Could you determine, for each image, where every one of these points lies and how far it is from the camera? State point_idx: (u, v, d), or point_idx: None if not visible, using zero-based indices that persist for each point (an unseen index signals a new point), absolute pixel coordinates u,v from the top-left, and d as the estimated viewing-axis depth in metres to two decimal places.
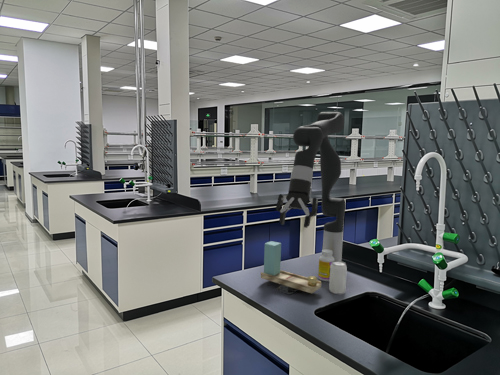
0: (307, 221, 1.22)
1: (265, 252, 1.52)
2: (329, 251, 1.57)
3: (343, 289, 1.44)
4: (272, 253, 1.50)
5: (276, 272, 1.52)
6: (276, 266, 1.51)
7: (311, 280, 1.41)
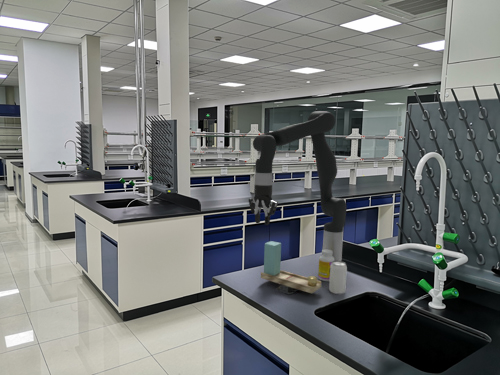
0: (267, 220, 1.50)
1: (265, 252, 1.52)
2: (329, 251, 1.57)
3: (343, 289, 1.44)
4: (272, 253, 1.50)
5: (276, 272, 1.52)
6: (276, 266, 1.51)
7: (311, 280, 1.41)
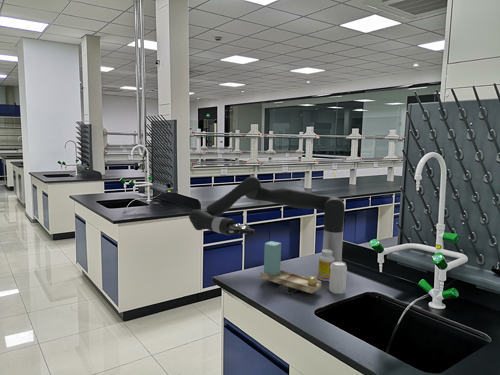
0: (249, 233, 1.58)
1: (265, 252, 1.52)
2: (329, 251, 1.57)
3: (343, 289, 1.44)
4: (272, 253, 1.50)
5: (276, 272, 1.52)
6: (276, 266, 1.51)
7: (311, 280, 1.41)
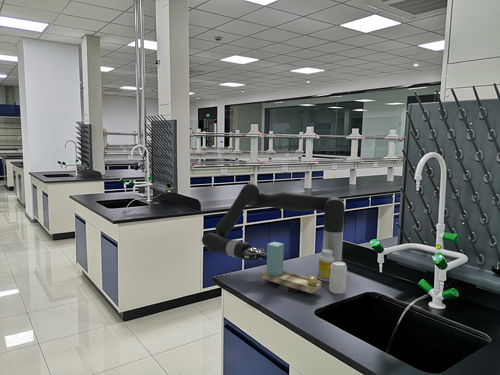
0: (265, 258, 1.54)
1: (268, 253, 1.51)
2: (329, 251, 1.57)
3: (343, 289, 1.44)
4: (275, 253, 1.49)
5: (279, 273, 1.51)
6: (279, 267, 1.51)
7: (311, 280, 1.41)
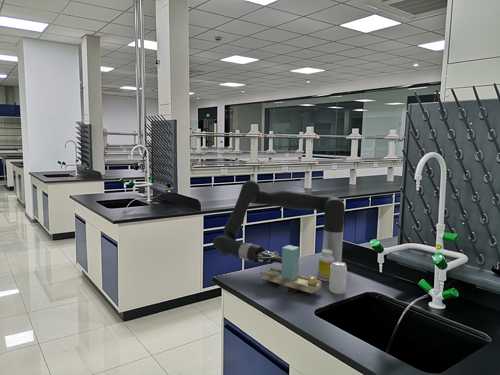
0: (279, 262, 1.50)
1: (283, 256, 1.47)
2: (329, 251, 1.57)
3: (343, 289, 1.44)
4: (290, 257, 1.45)
5: (294, 277, 1.47)
6: (294, 271, 1.46)
7: (311, 280, 1.41)
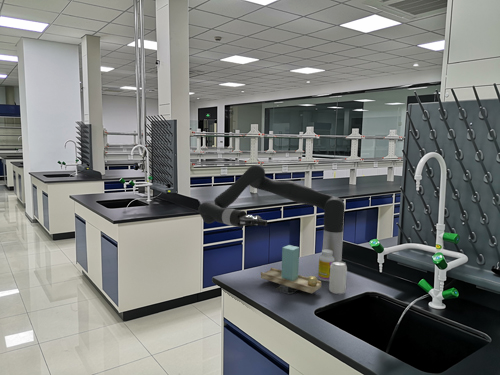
0: (260, 224, 1.54)
1: (283, 256, 1.47)
2: (329, 251, 1.57)
3: (343, 289, 1.44)
4: (290, 257, 1.44)
5: (294, 277, 1.47)
6: (294, 271, 1.46)
7: (311, 280, 1.41)
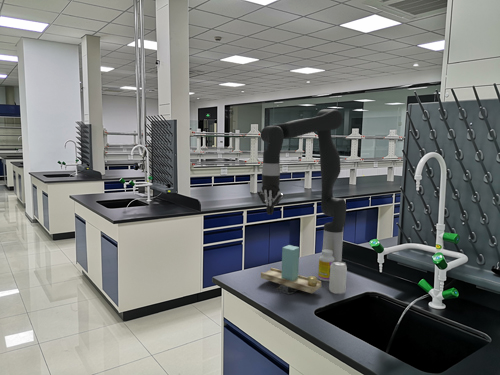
0: (270, 210, 1.54)
1: (283, 256, 1.47)
2: (329, 251, 1.57)
3: (343, 289, 1.44)
4: (290, 257, 1.44)
5: (294, 277, 1.47)
6: (294, 271, 1.46)
7: (311, 280, 1.41)
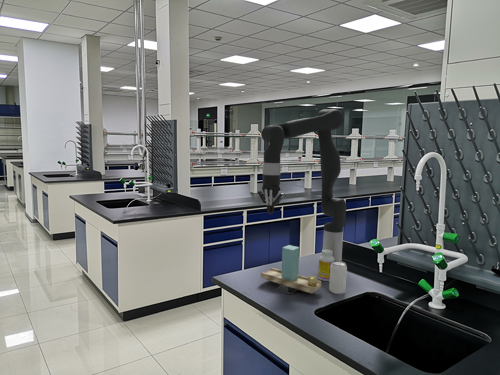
0: (271, 209, 1.53)
1: (283, 256, 1.47)
2: (329, 251, 1.57)
3: (343, 289, 1.44)
4: (290, 257, 1.44)
5: (294, 277, 1.47)
6: (294, 271, 1.46)
7: (311, 280, 1.41)
